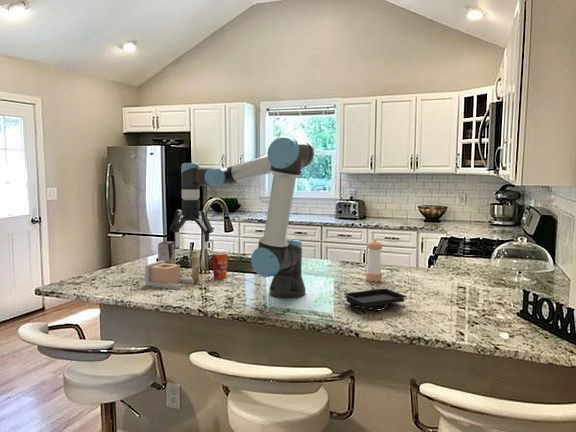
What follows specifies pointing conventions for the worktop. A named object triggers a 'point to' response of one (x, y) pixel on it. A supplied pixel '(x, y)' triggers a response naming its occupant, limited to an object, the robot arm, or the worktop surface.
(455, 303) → the worktop surface
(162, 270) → the block
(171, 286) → the mat with wall
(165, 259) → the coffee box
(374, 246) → the pepper shaker
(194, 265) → the dowel
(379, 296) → the tray
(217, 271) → the paper cup
